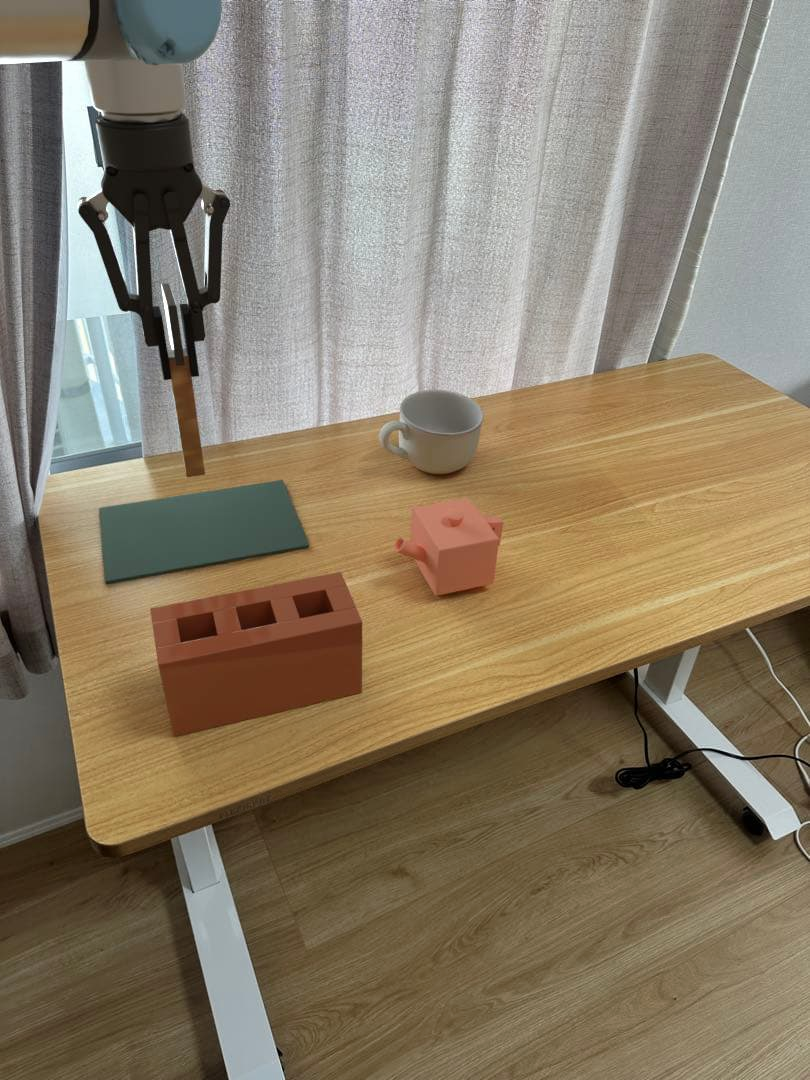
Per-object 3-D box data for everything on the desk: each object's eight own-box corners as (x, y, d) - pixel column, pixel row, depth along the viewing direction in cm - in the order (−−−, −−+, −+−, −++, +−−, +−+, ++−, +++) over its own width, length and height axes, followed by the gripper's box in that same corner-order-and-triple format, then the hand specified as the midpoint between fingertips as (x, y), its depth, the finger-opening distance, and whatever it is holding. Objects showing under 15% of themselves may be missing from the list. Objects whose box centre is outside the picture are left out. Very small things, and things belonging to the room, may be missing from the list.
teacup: (460, 437, 112) (465, 384, 107) (491, 478, 104) (497, 423, 99) (364, 450, 108) (364, 397, 103) (388, 494, 100) (389, 438, 95)
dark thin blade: (189, 487, 86) (160, 306, 74) (182, 459, 91) (154, 284, 78) (208, 484, 87) (183, 304, 75) (200, 456, 91) (175, 282, 79)
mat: (105, 584, 85) (105, 581, 85) (99, 510, 95) (99, 507, 95) (309, 547, 91) (309, 545, 91) (282, 482, 102) (282, 479, 101)
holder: (362, 692, 74) (362, 621, 69) (173, 737, 70) (158, 664, 64) (341, 641, 80) (340, 571, 74) (165, 679, 75) (150, 607, 69)
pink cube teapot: (381, 564, 89) (383, 503, 84) (480, 544, 93) (487, 485, 88) (405, 609, 84) (408, 547, 79) (509, 587, 87) (519, 525, 82)
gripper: (225, 102, 72) (247, 349, 86) (45, 106, 68) (100, 365, 82) (239, 119, 66) (261, 379, 81) (44, 124, 62) (103, 398, 77)
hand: (180, 371), depth 81 cm, fingers closed on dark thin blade, 2 cm apart
